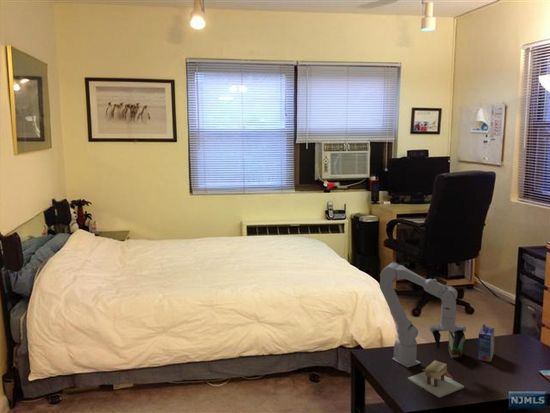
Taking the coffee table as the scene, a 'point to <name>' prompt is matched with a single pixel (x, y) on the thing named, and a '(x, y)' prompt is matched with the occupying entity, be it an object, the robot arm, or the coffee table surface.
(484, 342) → the ink cartridge box
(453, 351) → the food container
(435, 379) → the beige cardboard carton
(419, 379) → the blue-grey board
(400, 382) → the coffee table surface
